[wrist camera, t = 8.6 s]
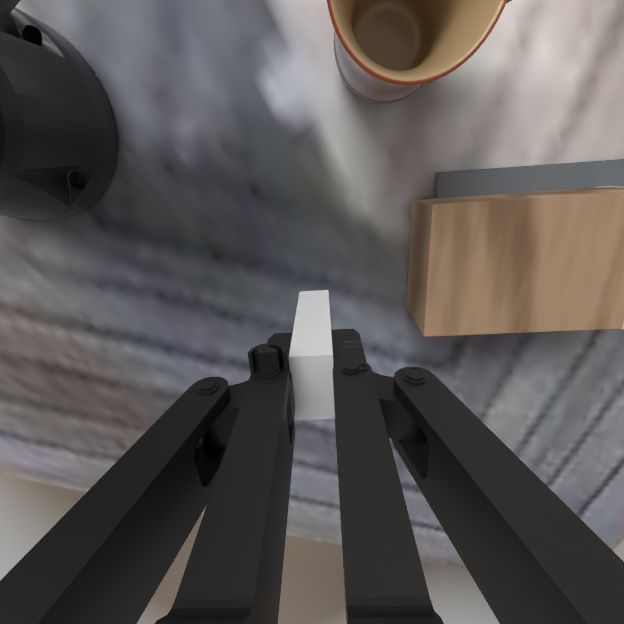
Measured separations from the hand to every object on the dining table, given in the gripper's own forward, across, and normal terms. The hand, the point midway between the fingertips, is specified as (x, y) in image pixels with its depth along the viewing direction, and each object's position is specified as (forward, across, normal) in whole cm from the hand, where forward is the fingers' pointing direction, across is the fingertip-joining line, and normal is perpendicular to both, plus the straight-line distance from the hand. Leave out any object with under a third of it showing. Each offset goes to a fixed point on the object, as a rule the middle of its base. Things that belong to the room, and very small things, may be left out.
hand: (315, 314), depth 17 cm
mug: (+15, +8, +15) cm, 23 cm away
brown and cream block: (+11, +8, -1) cm, 13 cm away
